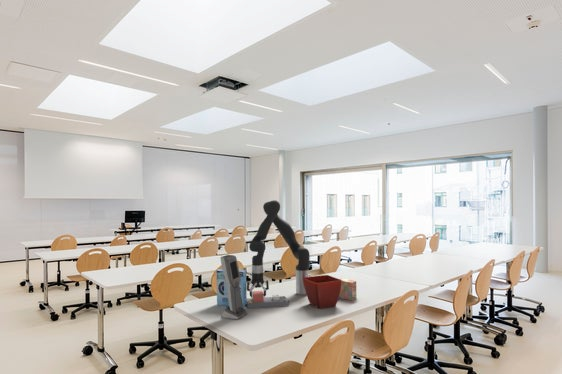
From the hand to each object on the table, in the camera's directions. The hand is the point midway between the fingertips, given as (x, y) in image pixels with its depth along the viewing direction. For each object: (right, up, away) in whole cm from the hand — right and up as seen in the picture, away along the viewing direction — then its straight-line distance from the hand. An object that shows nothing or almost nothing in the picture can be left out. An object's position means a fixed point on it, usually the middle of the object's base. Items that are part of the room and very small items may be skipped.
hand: (257, 296), depth 222 cm
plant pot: (+42, -5, -2) cm, 42 cm away
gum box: (-17, -6, 0) cm, 18 cm away
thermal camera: (-13, -5, -21) cm, 25 cm away
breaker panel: (+6, -5, +1) cm, 8 cm away
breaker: (+12, -3, +2) cm, 12 cm away
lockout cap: (0, -2, 0) cm, 2 cm away
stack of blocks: (+57, -6, +16) cm, 60 cm away
